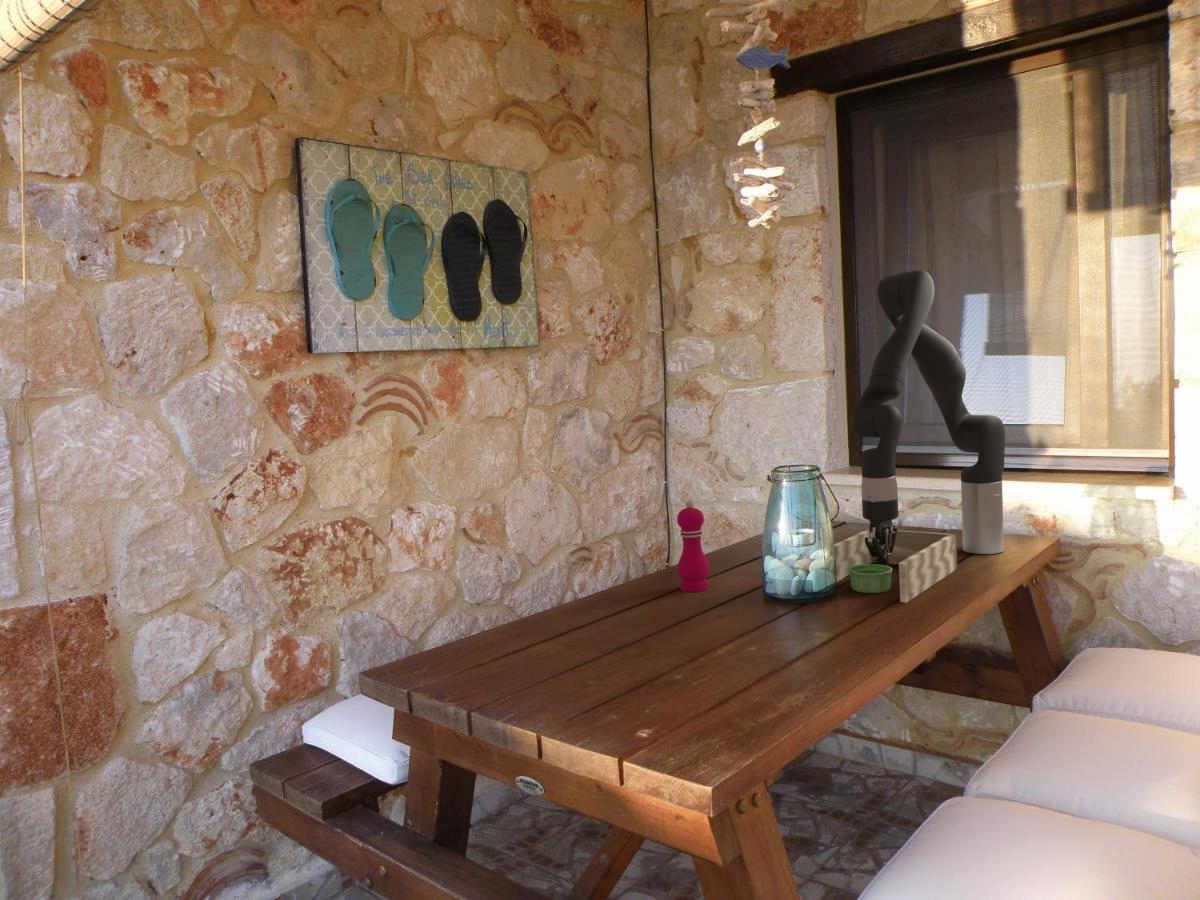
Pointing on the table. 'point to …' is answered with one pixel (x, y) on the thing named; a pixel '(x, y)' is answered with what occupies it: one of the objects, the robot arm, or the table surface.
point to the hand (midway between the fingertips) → (882, 574)
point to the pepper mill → (692, 551)
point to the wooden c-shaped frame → (904, 558)
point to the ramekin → (870, 578)
